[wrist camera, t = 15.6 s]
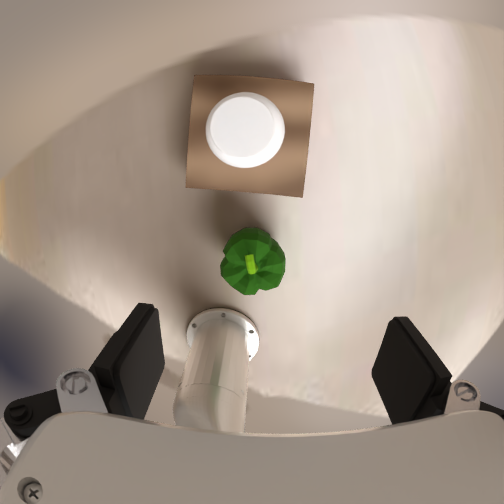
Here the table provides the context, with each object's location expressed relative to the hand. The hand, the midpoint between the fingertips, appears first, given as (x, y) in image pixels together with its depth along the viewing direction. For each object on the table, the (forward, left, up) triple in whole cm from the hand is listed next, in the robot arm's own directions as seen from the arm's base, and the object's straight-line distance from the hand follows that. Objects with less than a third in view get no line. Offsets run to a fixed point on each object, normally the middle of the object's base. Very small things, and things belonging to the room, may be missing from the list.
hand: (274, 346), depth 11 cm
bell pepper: (-7, +1, -31) cm, 32 cm away
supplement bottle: (+9, +3, -25) cm, 27 cm away
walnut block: (+9, +3, -31) cm, 32 cm away
